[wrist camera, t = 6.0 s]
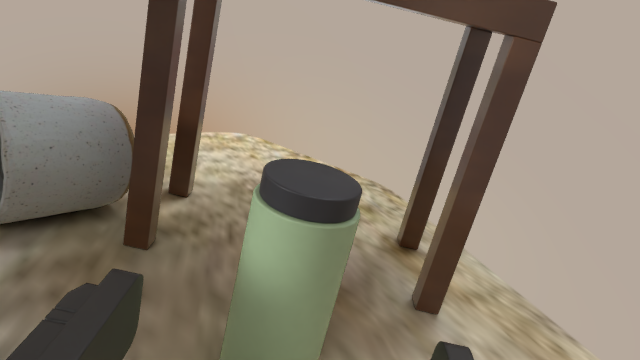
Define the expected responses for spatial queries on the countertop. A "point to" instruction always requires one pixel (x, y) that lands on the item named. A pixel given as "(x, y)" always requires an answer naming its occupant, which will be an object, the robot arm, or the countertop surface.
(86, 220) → the countertop surface
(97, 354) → the robot arm
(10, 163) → the ceramic mug
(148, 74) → the pan stand
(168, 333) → the countertop surface
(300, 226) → the spice bottle
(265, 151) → the countertop surface
